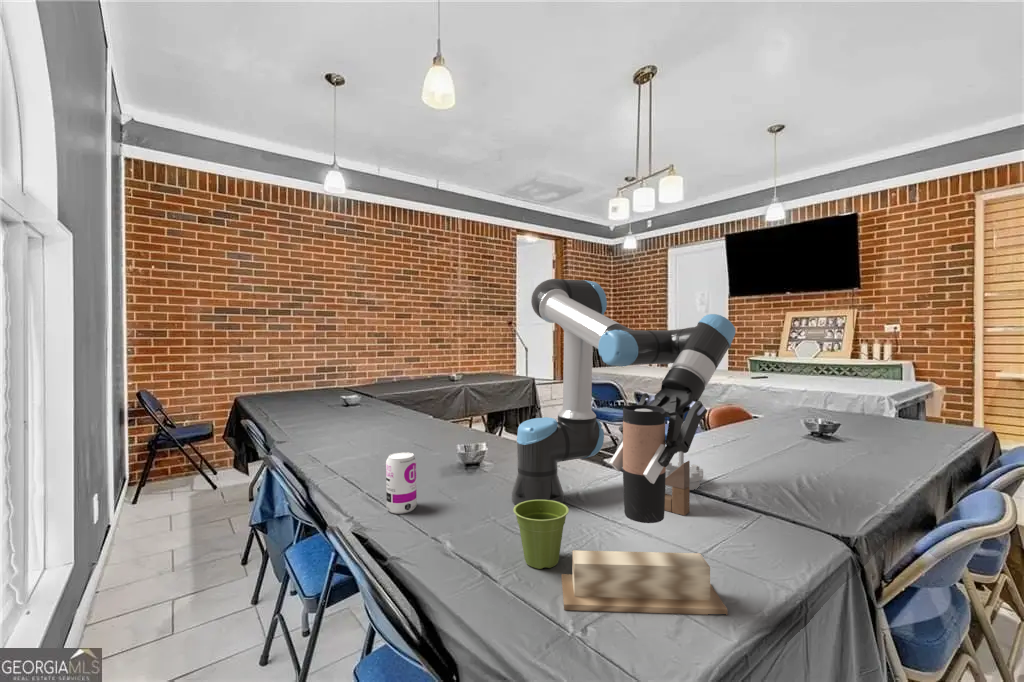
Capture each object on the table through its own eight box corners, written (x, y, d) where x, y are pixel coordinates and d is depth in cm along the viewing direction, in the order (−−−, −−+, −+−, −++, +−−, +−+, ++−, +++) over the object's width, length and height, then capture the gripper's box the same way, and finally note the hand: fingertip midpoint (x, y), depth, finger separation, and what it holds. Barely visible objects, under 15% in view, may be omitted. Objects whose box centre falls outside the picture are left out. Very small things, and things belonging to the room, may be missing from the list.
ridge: (564, 609, 79) (563, 570, 79) (561, 579, 89) (561, 544, 89) (727, 615, 77) (727, 574, 77) (706, 582, 87) (706, 547, 87)
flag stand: (709, 484, 144) (709, 391, 144) (692, 494, 135) (692, 395, 135) (670, 475, 154) (670, 387, 153) (652, 484, 144) (652, 391, 144)
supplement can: (422, 505, 128) (421, 453, 128) (403, 516, 120) (403, 461, 120) (399, 501, 131) (399, 450, 131) (380, 511, 124) (379, 457, 124)
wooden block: (684, 516, 119) (684, 448, 119) (646, 506, 126) (646, 442, 126) (690, 512, 122) (690, 446, 121) (652, 502, 129) (652, 440, 129)
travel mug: (617, 508, 87) (616, 405, 87) (655, 506, 88) (655, 404, 87) (631, 525, 79) (631, 412, 79) (673, 522, 80) (672, 411, 80)
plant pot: (571, 550, 101) (571, 500, 101) (565, 578, 89) (565, 522, 89) (520, 545, 103) (519, 496, 103) (508, 572, 92) (507, 517, 92)
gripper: (744, 396, 83) (688, 502, 74) (655, 385, 100) (602, 470, 92) (727, 369, 80) (667, 475, 71) (638, 362, 97) (582, 448, 89)
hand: (630, 472), depth 81 cm, fingers closed on travel mug, 7 cm apart
